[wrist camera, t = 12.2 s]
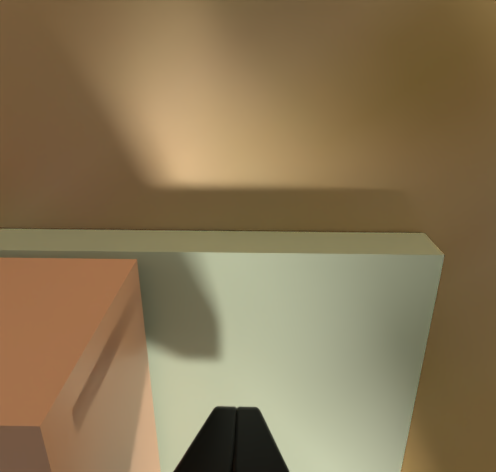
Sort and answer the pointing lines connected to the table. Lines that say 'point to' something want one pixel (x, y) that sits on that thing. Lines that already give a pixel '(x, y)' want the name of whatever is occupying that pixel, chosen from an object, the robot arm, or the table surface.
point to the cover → (74, 368)
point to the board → (276, 332)
